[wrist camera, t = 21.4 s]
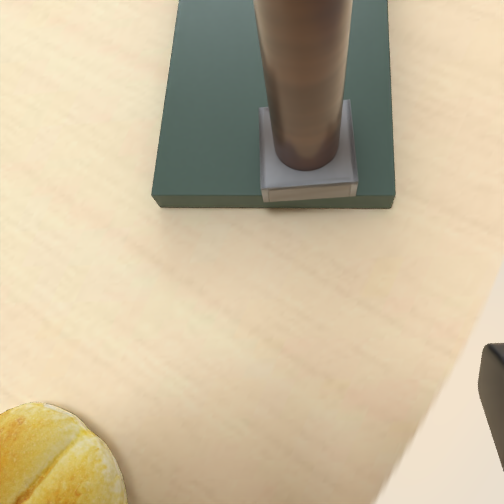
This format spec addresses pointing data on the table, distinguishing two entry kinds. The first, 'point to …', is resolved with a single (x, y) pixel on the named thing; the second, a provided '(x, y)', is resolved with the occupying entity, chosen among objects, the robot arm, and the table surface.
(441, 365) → the table surface
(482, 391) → the robot arm
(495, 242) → the table surface
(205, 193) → the cutting board
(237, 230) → the table surface
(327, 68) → the handled stamp
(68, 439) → the bread roll
